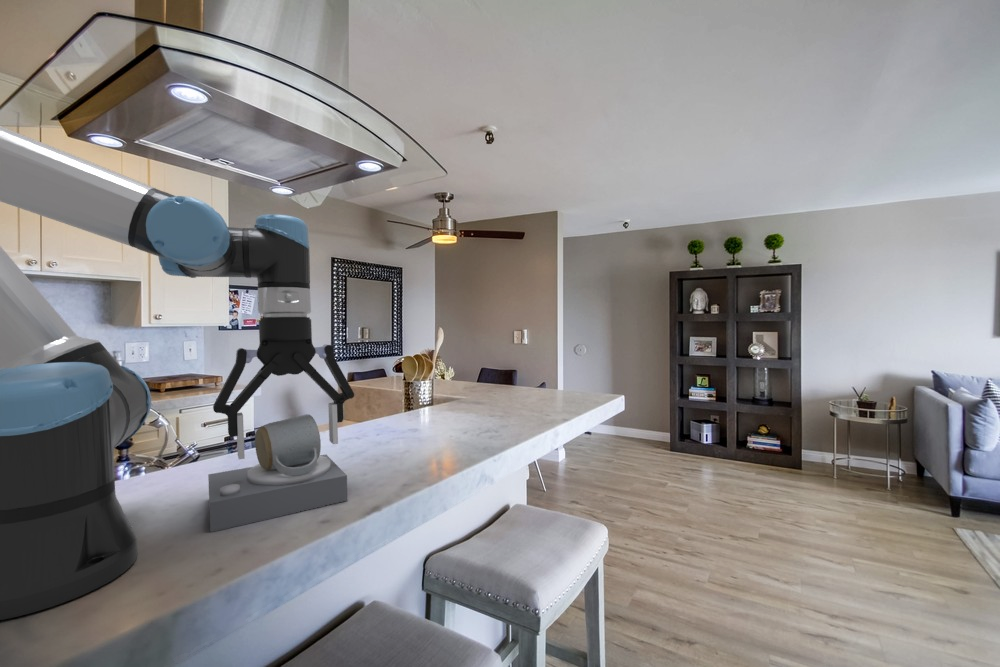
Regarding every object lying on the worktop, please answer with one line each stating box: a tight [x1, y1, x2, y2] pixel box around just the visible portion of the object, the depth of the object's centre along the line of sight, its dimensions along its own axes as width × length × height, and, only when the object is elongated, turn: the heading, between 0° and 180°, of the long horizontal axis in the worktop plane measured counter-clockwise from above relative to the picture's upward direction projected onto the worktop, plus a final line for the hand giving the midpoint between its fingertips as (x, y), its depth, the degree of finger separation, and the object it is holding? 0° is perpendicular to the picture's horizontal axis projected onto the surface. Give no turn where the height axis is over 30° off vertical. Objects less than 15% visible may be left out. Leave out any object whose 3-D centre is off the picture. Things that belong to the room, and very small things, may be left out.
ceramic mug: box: [254, 413, 322, 476], centre depth 71 cm, size 11×8×8 cm
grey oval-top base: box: [207, 453, 349, 533], centre depth 71 cm, size 18×14×5 cm
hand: (289, 449), depth 72 cm, fingers open, 13 cm apart
